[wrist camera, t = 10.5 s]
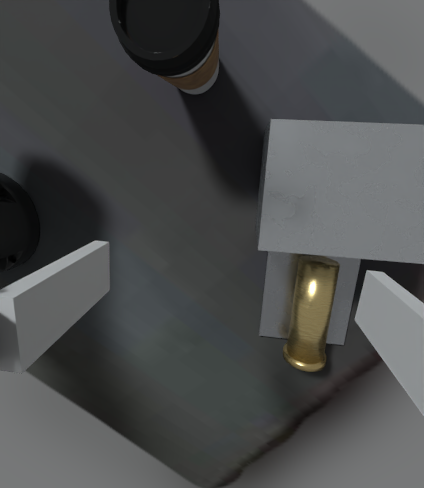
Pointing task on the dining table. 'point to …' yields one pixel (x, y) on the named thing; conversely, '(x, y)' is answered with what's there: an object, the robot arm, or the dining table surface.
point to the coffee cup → (171, 39)
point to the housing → (336, 207)
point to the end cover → (311, 313)
